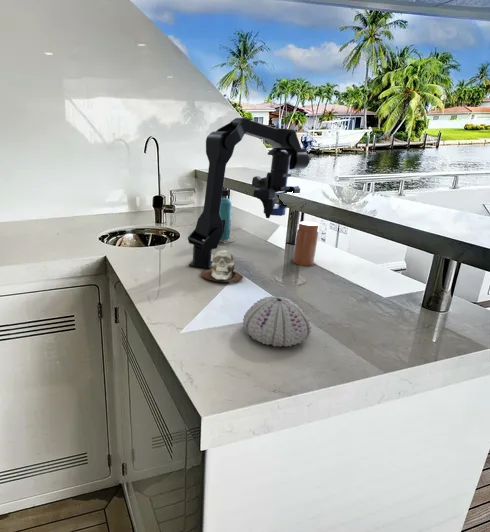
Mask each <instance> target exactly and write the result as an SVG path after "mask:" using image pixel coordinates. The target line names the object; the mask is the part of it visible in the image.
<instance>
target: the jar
mask: <svg viewBox="0 0 490 532" xmlns="http://www.w3.org/2000/svg"><path fill="white" fill-rule="evenodd" d="M319 227H320V223H318V222H313V221H300V222H298V228H296V229H297V231H296V235H295V243H294V248H293V249H294V250H293V255H292V262H293V263H294V264H296V265H299V266H304V267H305V266H306V267H307V266H308V267H309V266H313V265H314V263H315V256H316V251H317V245H318V238H319V233H320V230H319Z"/></svg>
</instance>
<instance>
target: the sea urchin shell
mask: <svg viewBox="0 0 490 532" xmlns="http://www.w3.org/2000/svg"><path fill="white" fill-rule="evenodd" d="M242 321H243V322H242V328H243V329H244V331H245V332H246V333H247V335H249V336H251V339H253V340H255V341H256V342H258V343H261V344H263V345H266V346H269V345H272V346H273V347H279V348H280V347H282V346H283V347H286V348H287V347H293V346H297V344H302V342H304V341H305V340H307V339H308V337H310V333H312V330H311V329H312V326H311V323H310V319H309V318H308V315H307V314H306V313H305V310H302V309H301V306H299V305H298V304H296V302H293V300H290V299H288V298H287V297H283V296H265V297H263V298H260V299H259V300H257V301H255V302H254V303H253V305H251V306H250V307H249V309H247V311H245V313H244V315H243V319H242Z"/></svg>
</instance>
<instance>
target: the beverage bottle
mask: <svg viewBox="0 0 490 532" xmlns="http://www.w3.org/2000/svg"><path fill="white" fill-rule="evenodd" d="M229 196H230V190H229V189H226V188H223V191H222V198H221V205H220V216H221V218H222V219H225V226H224V233H223V234H222V237H221V239H220V241H228V240H229V239H230V237H231V233H230V232H231V225H232V224H231V223H232V207H233V206H232V204H233V201H232V200H231V199H230V198H228V197H229Z"/></svg>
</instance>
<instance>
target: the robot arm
mask: <svg viewBox="0 0 490 532" xmlns="http://www.w3.org/2000/svg"><path fill="white" fill-rule="evenodd" d="M245 135H247V136H250V137H252V138H253V137H254V138H257V139H259V140H264V141H266V142H267V144H268V145H270V146H271V147H272V148H271V149H270V150H269V151H268V152H267V156H272V157H271V165H270V172H269V171H268V172H267V173H266V176H265V177H261V176H259V175H256V176H253V177H252V179H251V186H252V187H254V189H253V191H252V197H253V198H257V199H258V200H259V201H260V202H261V203H262V206H263V212H264V211H265V213H264V215H265V218H266V219H271V216H272V215H271V213H272V210H273V208H274V205H276V202H277V200H278V205H279V204H281V205H279V206H284V207H286V206H287V205H284V204H283V202H282V201H281V200H280V199H279V195H278V194H282V193H287V192H292V191H293V193H300V194H301V188H300V186H299V185H294V184H288V181H289V177H290V178H291V177H292V173H291V172H290V170H304V169H306V168H307V167H308V166H309V164H310V161H311V159H310V156H309V154H308V152H307V148H306V147H302V146H301V143H300V141H299V138H298V135H297V131H296V130H295V129H294V128H281V127H279V128H278V127H277V128H276V127H273V126H270V125H268V124H267V125H266V124H263V123H260V122H258V121H254V120H251V119H249V118H248V117H235V118H233V119H232V120H231V121H230V122H228V123H227V124H224V125H223V126H221V127H220V128H218V129H217V130H215V131H211V132H209V134H208V135H206V139H205V154H206V157H207V160H208V170H207V178H206V186H205V187H206V188H205V194H204V196H205V197H204V203H203V210H202V213H200V215H199V217H198V218H197V220H196V224H195V228H194V229H193V231H192V232H191V233H190V234H189V235H188V237H187V241H188V244H190V245H192V246H193V247H192V248H193V249H192V260H191V262H190V263H189V264H188V267H193V268H200V269H206V270H211V268H212V266H211V265H212V261H213V260H212V253H213V252H212V250H216V249H218V247H219V244H220V241H221V240H220V239H221V237H222V234H223V233H224V226H225V219H222V218H221V216H220V205H221V198H223V196H222V191H223V189H224V183H225V176H226V168H227V165H228V162H229V161H230V159H231V158H232V156H233V155H234V152H235V146H236V145H237V144H239V143H240V142H241V141H242V140H243V138H244V136H245ZM293 193H292V194H293ZM275 196H276V197H277V198H275ZM287 208H288V207H286V209H287Z"/></svg>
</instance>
